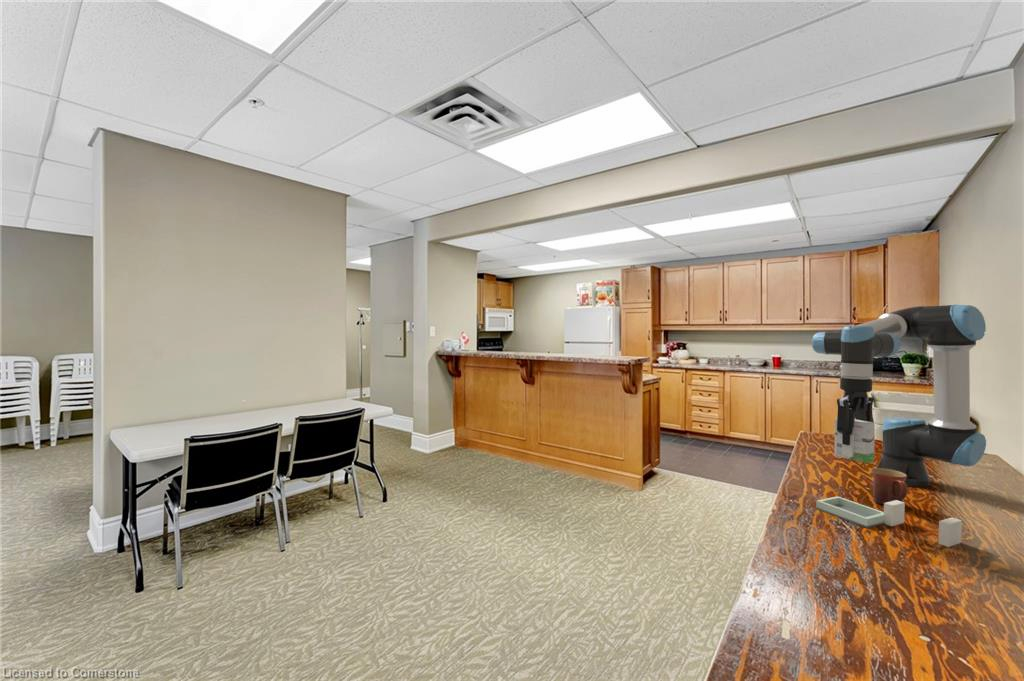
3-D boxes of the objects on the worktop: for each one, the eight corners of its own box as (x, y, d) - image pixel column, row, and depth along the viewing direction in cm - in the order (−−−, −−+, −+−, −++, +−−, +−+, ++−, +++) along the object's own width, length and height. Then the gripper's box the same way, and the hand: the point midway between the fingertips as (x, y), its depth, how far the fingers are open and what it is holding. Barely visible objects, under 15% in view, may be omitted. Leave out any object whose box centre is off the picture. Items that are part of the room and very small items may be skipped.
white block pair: (895, 520, 127) (896, 500, 127) (961, 542, 114) (961, 520, 113) (883, 523, 125) (884, 502, 125) (948, 547, 111) (949, 524, 111)
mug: (864, 497, 144) (865, 467, 144) (894, 499, 142) (895, 469, 142) (887, 512, 132) (888, 479, 132) (920, 515, 131) (922, 481, 130)
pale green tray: (837, 504, 138) (837, 496, 138) (888, 522, 125) (888, 513, 125) (816, 508, 135) (816, 500, 135) (866, 528, 122) (867, 519, 122)
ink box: (875, 461, 127) (876, 421, 126) (866, 464, 124) (867, 423, 124) (842, 453, 134) (843, 416, 134) (833, 455, 132) (834, 417, 132)
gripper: (861, 375, 135) (859, 448, 136) (822, 377, 129) (820, 454, 129) (889, 377, 129) (886, 454, 129) (850, 380, 122) (848, 461, 122)
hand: (853, 454), depth 129 cm, fingers closed on ink box, 5 cm apart
